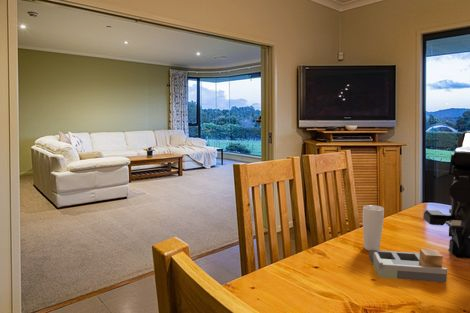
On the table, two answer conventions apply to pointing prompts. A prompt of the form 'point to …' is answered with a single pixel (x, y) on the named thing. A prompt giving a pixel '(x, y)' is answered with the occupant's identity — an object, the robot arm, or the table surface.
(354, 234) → the table surface
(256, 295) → the table surface
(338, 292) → the table surface
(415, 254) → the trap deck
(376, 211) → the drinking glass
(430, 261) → the ochre block
